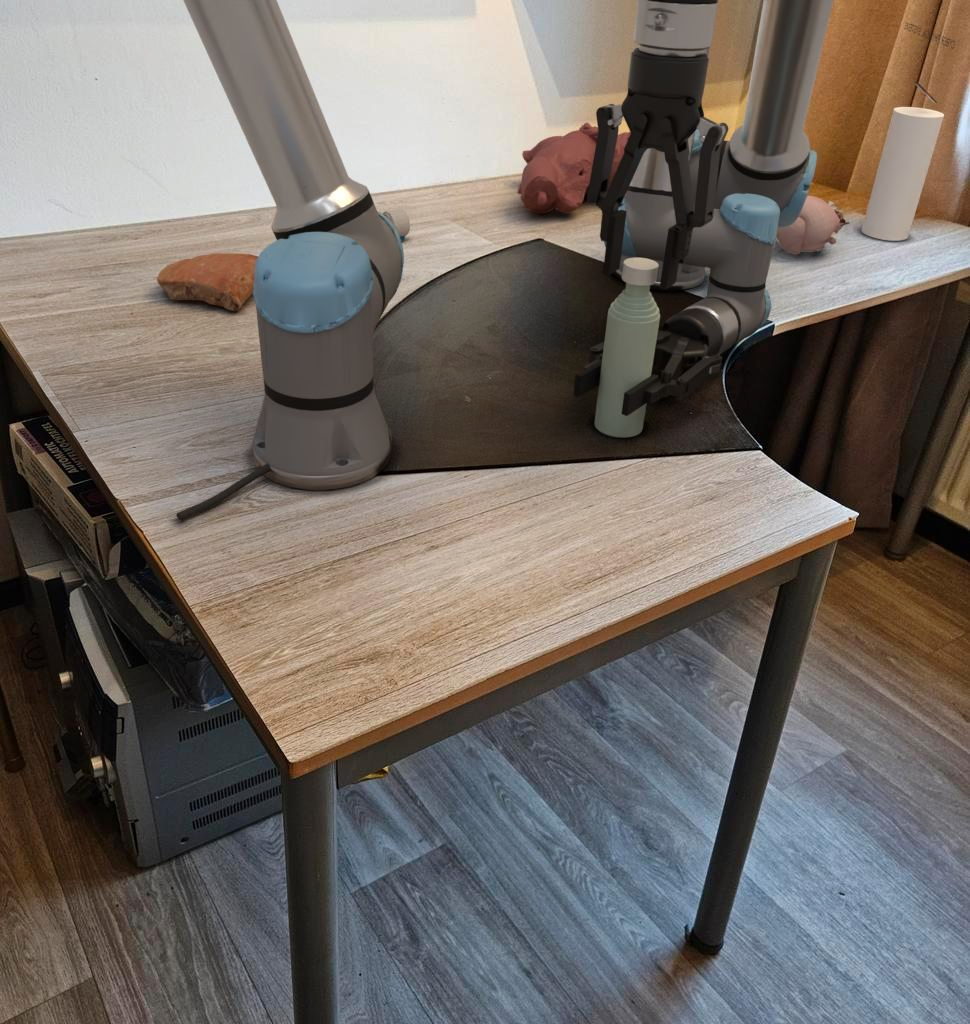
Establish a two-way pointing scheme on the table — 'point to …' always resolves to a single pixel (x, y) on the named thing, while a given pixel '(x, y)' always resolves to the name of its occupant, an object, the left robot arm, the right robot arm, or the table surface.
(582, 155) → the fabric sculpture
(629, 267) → the cap
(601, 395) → the bottle
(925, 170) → the tall white cylinder
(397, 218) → the electric motor
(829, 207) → the toy
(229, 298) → the ceramic shard
